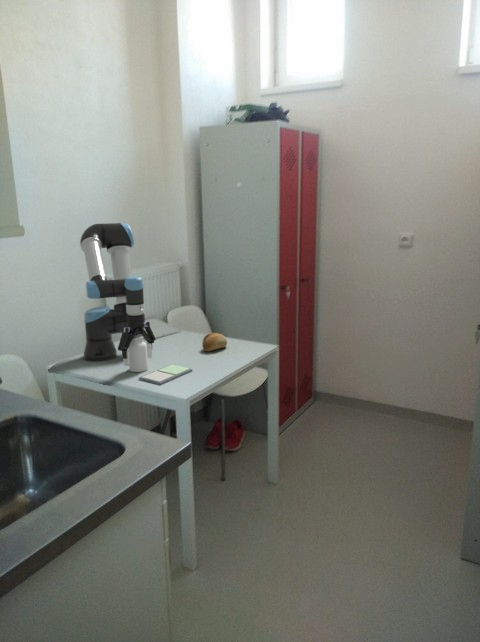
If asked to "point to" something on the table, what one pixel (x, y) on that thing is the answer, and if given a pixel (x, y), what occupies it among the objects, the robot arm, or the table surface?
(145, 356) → the pill bottle
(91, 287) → the robot arm
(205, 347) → the bread roll
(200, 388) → the table surface
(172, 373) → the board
